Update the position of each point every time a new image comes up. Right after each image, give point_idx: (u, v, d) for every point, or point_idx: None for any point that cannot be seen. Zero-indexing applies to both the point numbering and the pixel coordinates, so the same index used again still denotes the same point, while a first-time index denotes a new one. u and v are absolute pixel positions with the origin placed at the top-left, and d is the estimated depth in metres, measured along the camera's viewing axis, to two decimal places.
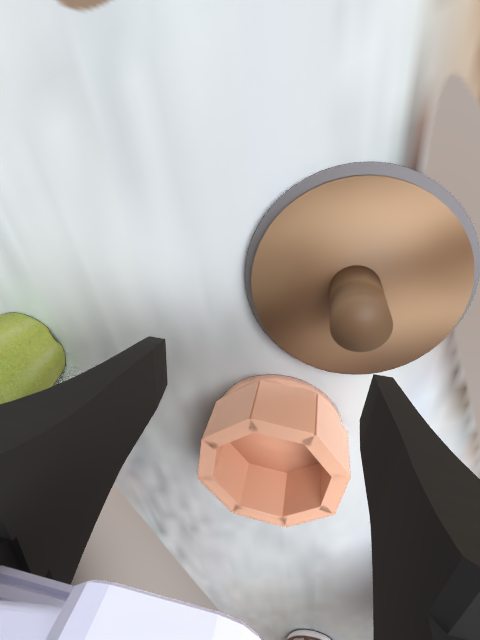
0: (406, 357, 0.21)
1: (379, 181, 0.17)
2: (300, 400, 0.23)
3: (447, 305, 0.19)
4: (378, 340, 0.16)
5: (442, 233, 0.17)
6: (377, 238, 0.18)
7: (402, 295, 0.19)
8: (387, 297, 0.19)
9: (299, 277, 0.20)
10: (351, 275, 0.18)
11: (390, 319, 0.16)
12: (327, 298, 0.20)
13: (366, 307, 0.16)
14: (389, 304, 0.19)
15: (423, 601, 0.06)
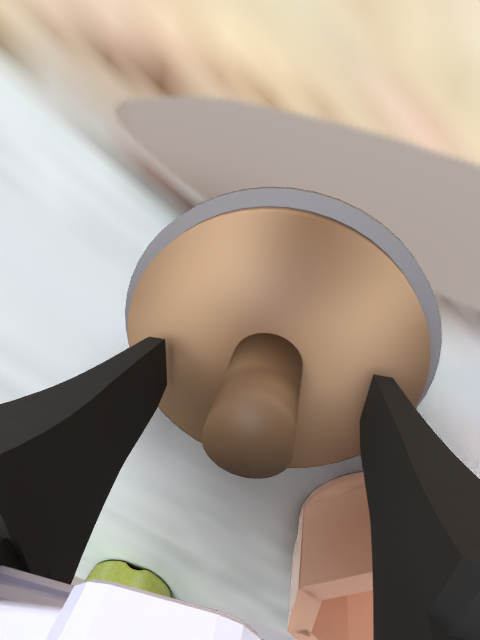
0: (413, 382, 0.13)
1: (159, 259, 0.13)
2: (355, 512, 0.16)
3: (378, 294, 0.12)
4: (282, 445, 0.10)
5: (270, 239, 0.12)
6: (223, 303, 0.13)
7: (317, 328, 0.13)
8: (306, 343, 0.13)
9: (210, 395, 0.15)
10: (226, 369, 0.13)
11: (261, 416, 0.10)
12: None
13: (222, 423, 0.10)
14: (318, 347, 0.13)
15: (423, 601, 0.06)
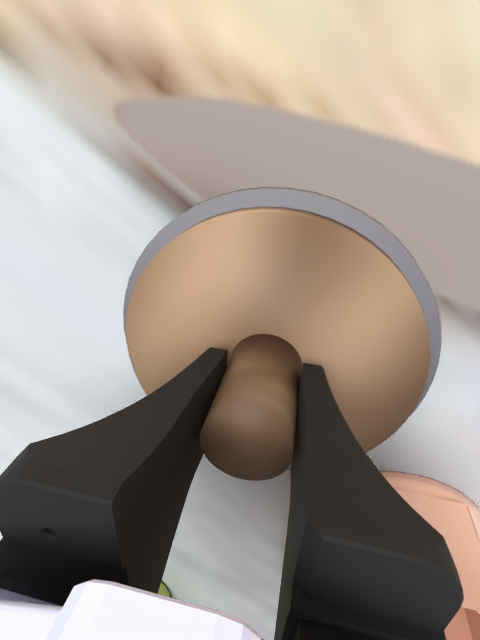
0: (413, 383, 0.13)
1: (158, 260, 0.13)
2: None
3: (378, 295, 0.12)
4: (281, 447, 0.10)
5: (269, 239, 0.11)
6: (221, 304, 0.13)
7: (317, 329, 0.13)
8: (305, 344, 0.13)
9: None
10: (225, 370, 0.13)
11: (259, 418, 0.10)
12: None
13: (220, 425, 0.10)
14: (317, 348, 0.13)
15: (292, 568, 0.07)
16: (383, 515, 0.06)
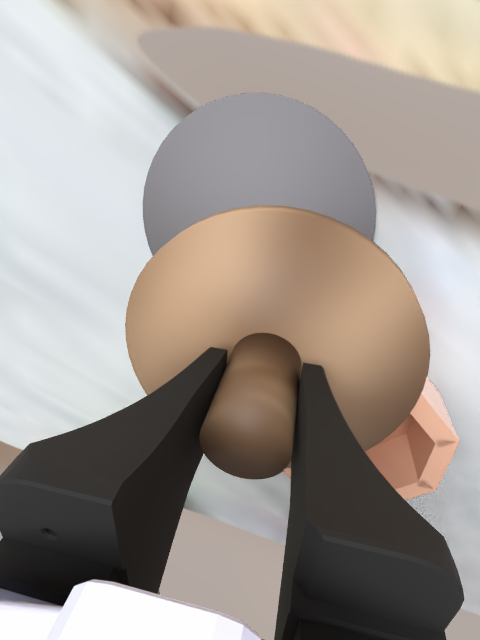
0: (413, 381, 0.13)
1: (156, 259, 0.13)
2: None
3: (377, 293, 0.12)
4: (280, 446, 0.10)
5: (267, 238, 0.11)
6: (220, 303, 0.13)
7: (316, 328, 0.13)
8: (304, 343, 0.13)
9: None
10: (225, 369, 0.13)
11: (259, 416, 0.10)
12: None
13: (219, 424, 0.10)
14: (316, 347, 0.13)
15: (293, 568, 0.07)
16: (383, 515, 0.06)
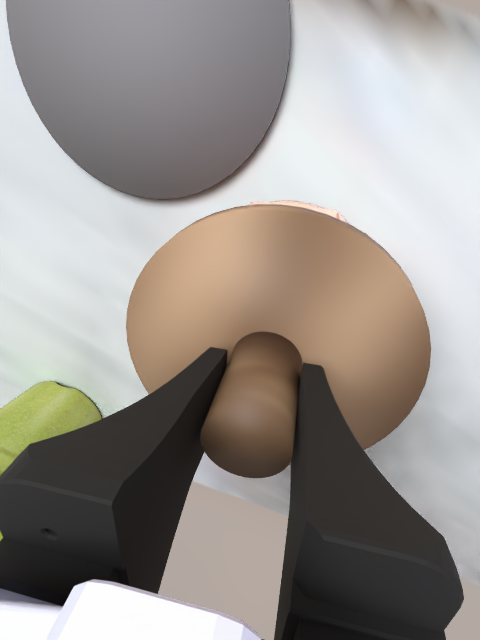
0: (414, 376, 0.13)
1: (154, 261, 0.13)
2: None
3: (375, 289, 0.12)
4: (281, 444, 0.10)
5: (263, 237, 0.11)
6: (219, 303, 0.13)
7: (315, 325, 0.13)
8: (304, 341, 0.13)
9: None
10: (225, 369, 0.13)
11: (258, 416, 0.10)
12: None
13: (220, 424, 0.10)
14: (316, 344, 0.13)
15: (292, 568, 0.07)
16: (383, 515, 0.06)
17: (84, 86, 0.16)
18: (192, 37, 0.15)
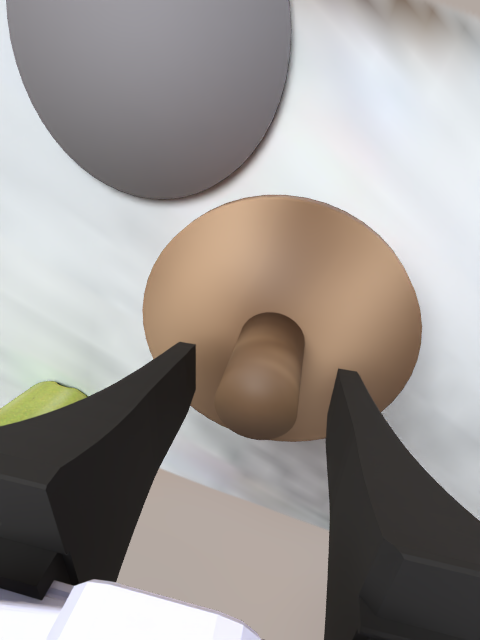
0: (407, 352, 0.14)
1: (171, 247, 0.14)
2: None
3: (371, 271, 0.13)
4: (287, 406, 0.11)
5: (270, 224, 0.13)
6: (229, 286, 0.14)
7: (317, 306, 0.14)
8: (307, 320, 0.14)
9: (221, 374, 0.16)
10: (235, 345, 0.14)
11: (267, 379, 0.11)
12: None
13: (232, 388, 0.11)
14: (318, 324, 0.14)
15: (357, 584, 0.07)
16: (455, 531, 0.06)
17: (84, 86, 0.16)
18: (192, 37, 0.15)
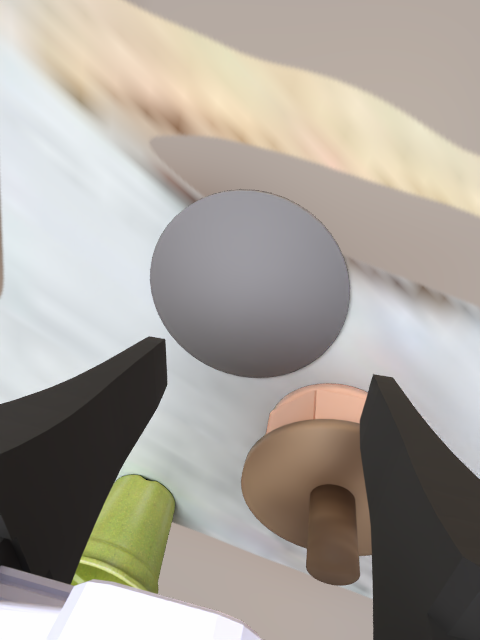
0: None
1: (269, 444, 0.21)
2: (301, 406, 0.23)
3: None
4: (353, 571, 0.18)
5: (339, 442, 0.20)
6: (306, 468, 0.21)
7: None
8: (358, 491, 0.21)
9: (293, 513, 0.23)
10: (311, 510, 0.21)
11: (342, 558, 0.18)
12: None
13: (320, 559, 0.18)
14: (365, 494, 0.21)
15: (422, 601, 0.06)
16: None
17: (199, 310, 0.23)
18: (281, 296, 0.22)
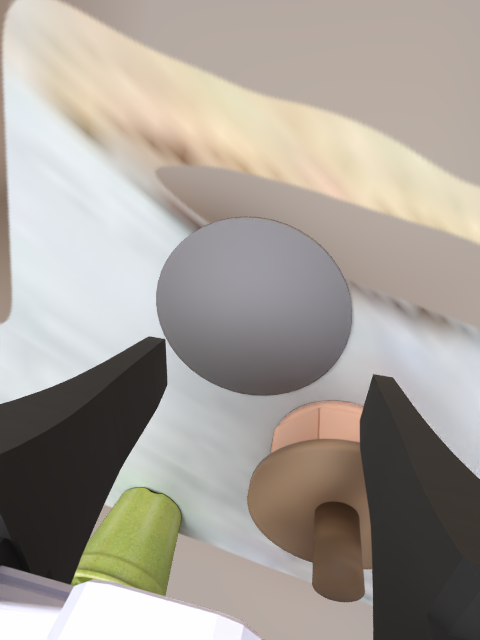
0: None
1: (274, 463, 0.21)
2: (305, 424, 0.24)
3: None
4: (358, 589, 0.19)
5: (343, 461, 0.20)
6: (311, 486, 0.22)
7: None
8: (362, 508, 0.22)
9: (298, 528, 0.24)
10: (316, 528, 0.21)
11: (348, 576, 0.18)
12: None
13: (325, 577, 0.19)
14: None
15: (423, 601, 0.06)
16: None
17: (205, 331, 0.24)
18: (285, 317, 0.22)
